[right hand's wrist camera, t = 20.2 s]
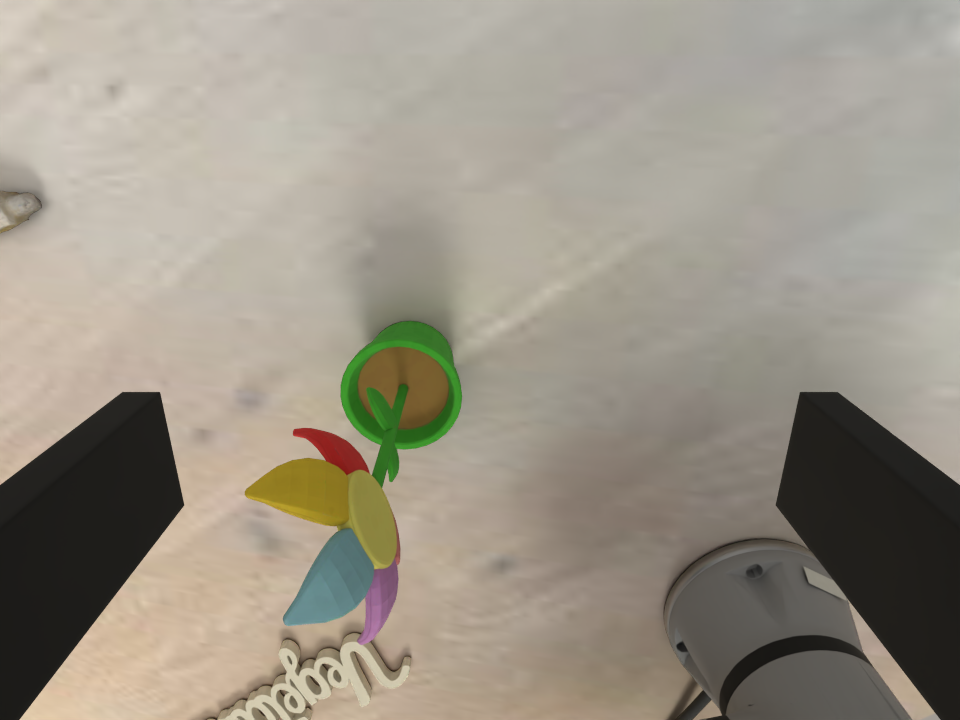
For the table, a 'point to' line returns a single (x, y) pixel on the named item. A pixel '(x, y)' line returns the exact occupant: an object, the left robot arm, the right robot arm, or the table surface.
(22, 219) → the syringe
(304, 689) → the decorative sign
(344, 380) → the potted flower
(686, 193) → the table surface
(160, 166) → the table surface
